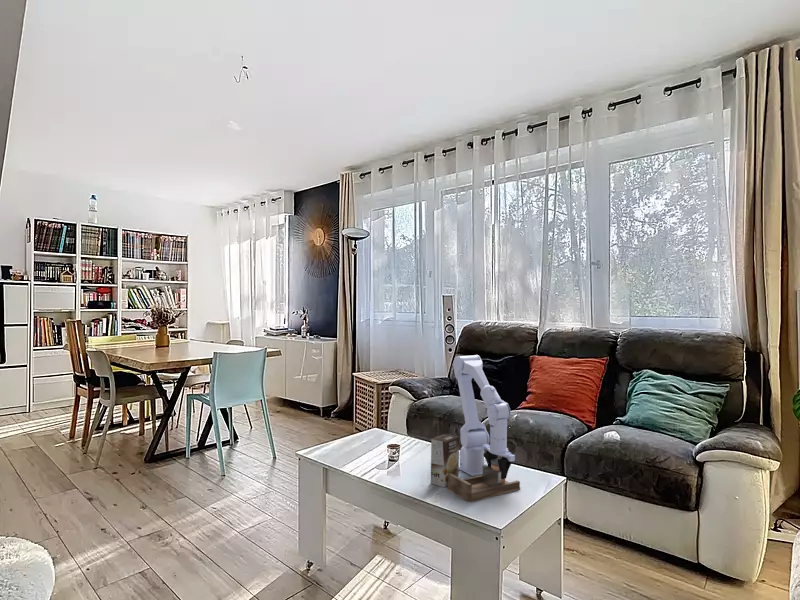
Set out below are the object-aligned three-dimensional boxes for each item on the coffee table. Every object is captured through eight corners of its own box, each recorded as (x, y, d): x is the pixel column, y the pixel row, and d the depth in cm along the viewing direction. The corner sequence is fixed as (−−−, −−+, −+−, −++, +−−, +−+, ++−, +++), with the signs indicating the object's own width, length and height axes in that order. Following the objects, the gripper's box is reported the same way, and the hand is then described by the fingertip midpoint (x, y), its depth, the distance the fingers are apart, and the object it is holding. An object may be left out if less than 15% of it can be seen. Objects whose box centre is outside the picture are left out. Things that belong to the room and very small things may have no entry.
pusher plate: (482, 481, 175) (482, 464, 174) (484, 481, 175) (484, 464, 175) (498, 489, 167) (498, 472, 167) (500, 489, 168) (501, 471, 168)
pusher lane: (447, 489, 169) (447, 473, 169) (496, 477, 180) (497, 462, 180) (469, 502, 159) (469, 485, 159) (520, 489, 170) (520, 473, 170)
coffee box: (444, 488, 170) (445, 442, 170) (430, 483, 174) (430, 438, 174) (459, 480, 177) (459, 436, 177) (444, 476, 181) (445, 432, 181)
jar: (487, 481, 174) (487, 460, 174) (498, 478, 176) (498, 457, 176) (497, 486, 169) (497, 464, 169) (508, 483, 172) (509, 462, 172)
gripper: (521, 441, 168) (521, 480, 169) (493, 430, 181) (492, 467, 181) (506, 444, 165) (505, 484, 165) (478, 433, 177) (477, 470, 177)
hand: (497, 475), depth 173 cm, fingers closed on jar, 5 cm apart
